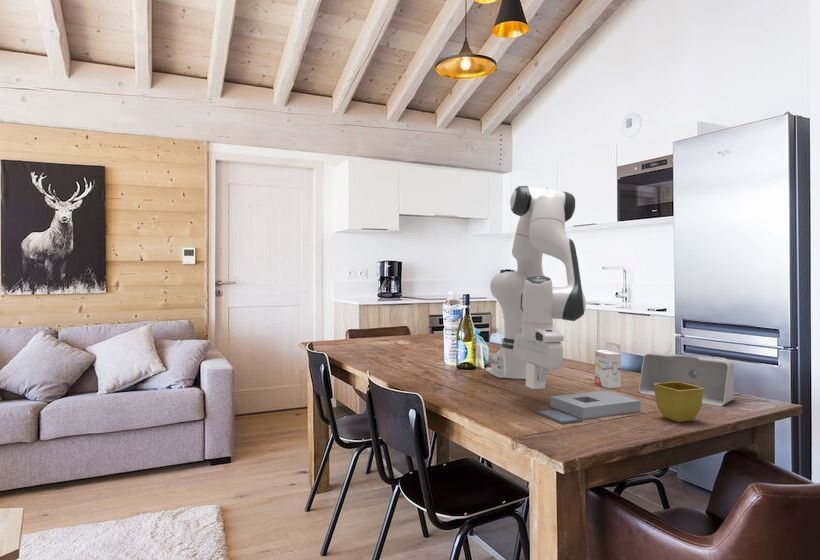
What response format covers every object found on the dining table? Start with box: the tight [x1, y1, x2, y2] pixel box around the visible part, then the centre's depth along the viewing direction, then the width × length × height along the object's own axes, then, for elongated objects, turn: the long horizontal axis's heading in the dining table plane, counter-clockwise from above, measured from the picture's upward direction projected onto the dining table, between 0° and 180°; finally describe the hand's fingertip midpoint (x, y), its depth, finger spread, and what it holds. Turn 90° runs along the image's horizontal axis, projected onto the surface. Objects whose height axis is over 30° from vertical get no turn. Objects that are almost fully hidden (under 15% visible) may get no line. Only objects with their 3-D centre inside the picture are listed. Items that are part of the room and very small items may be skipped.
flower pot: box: [654, 382, 704, 423], centre depth 143 cm, size 9×9×9 cm
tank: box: [638, 351, 735, 407], centre depth 171 cm, size 25×16×12 cm, turn 44°
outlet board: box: [549, 390, 641, 420], centre depth 154 cm, size 14×20×3 cm
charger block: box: [525, 362, 547, 390], centre depth 158 cm, size 4×4×8 cm
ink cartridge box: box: [594, 341, 622, 389], centre depth 185 cm, size 9×5×15 cm, turn 14°
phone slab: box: [534, 409, 584, 425], centre depth 145 cm, size 12×6×1 cm, turn 21°
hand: (535, 379), depth 158 cm, fingers closed on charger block, 4 cm apart
